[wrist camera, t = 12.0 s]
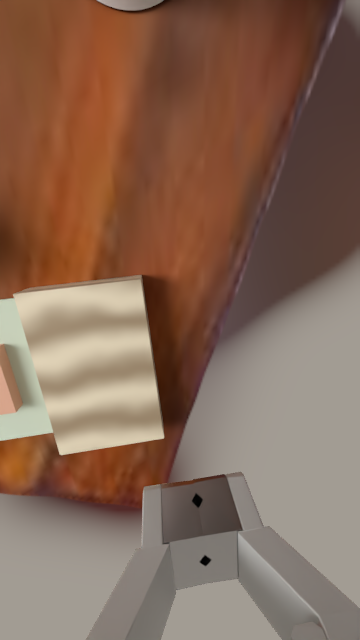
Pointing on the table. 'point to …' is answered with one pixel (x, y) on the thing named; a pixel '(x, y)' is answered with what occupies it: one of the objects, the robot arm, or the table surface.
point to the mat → (21, 379)
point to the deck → (94, 361)
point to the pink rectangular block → (8, 386)
